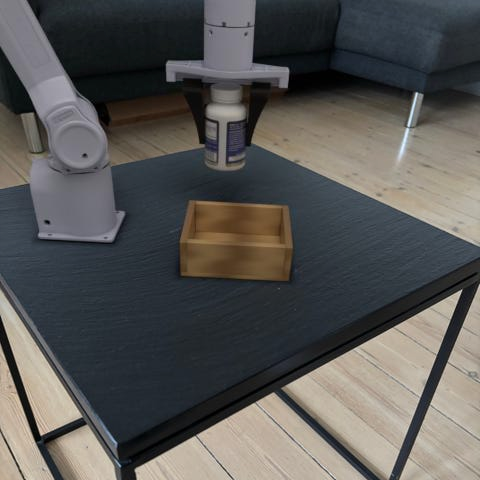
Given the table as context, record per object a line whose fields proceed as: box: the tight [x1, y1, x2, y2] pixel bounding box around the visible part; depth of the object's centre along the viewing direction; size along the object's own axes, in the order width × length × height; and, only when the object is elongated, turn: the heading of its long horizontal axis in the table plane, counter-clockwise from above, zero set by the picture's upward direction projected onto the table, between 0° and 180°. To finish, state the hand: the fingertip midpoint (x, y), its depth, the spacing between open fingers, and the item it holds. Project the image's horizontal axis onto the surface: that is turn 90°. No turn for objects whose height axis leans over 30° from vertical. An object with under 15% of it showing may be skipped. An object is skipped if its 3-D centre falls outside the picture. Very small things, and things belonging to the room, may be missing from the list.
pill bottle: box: [204, 83, 248, 172], centre depth 66 cm, size 5×5×10 cm
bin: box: [179, 199, 294, 282], centre depth 63 cm, size 13×11×4 cm
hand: (225, 142), depth 67 cm, fingers closed on pill bottle, 5 cm apart
